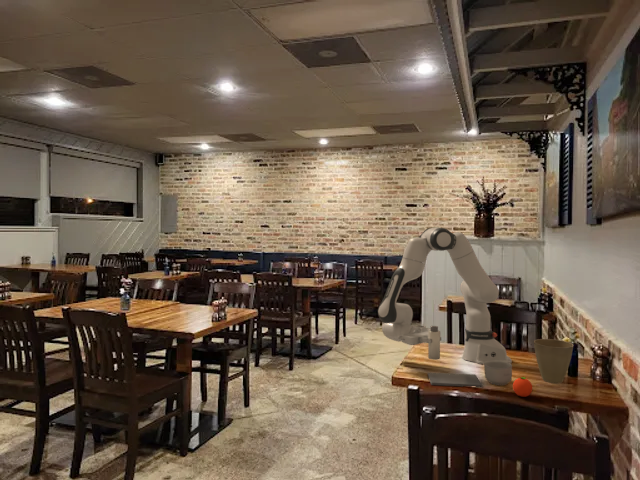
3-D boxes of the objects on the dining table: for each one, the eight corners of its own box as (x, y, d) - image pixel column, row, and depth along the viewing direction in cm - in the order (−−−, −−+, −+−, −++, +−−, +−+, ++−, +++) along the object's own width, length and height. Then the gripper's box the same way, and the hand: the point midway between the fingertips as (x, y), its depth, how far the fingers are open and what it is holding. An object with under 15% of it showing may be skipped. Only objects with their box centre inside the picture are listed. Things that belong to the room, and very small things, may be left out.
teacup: (508, 389, 193) (509, 369, 193) (480, 384, 199) (481, 364, 198) (515, 380, 205) (515, 361, 204) (488, 375, 210) (489, 357, 210)
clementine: (515, 391, 190) (516, 373, 190) (534, 394, 186) (535, 376, 186) (510, 396, 184) (510, 378, 184) (530, 400, 180) (530, 381, 180)
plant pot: (526, 375, 211) (527, 338, 211) (559, 375, 212) (560, 338, 212) (544, 386, 196) (545, 347, 196) (580, 386, 197) (581, 347, 197)
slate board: (475, 376, 208) (475, 374, 208) (482, 387, 195) (482, 384, 194) (427, 374, 211) (427, 372, 211) (431, 385, 197) (431, 382, 197)
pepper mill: (439, 356, 218) (439, 325, 218) (440, 359, 213) (440, 327, 213) (427, 356, 219) (427, 325, 219) (429, 359, 214) (429, 327, 214)
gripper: (396, 331, 219) (420, 336, 209) (425, 325, 232) (449, 329, 221) (396, 345, 220) (420, 351, 209) (425, 338, 232) (449, 343, 222)
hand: (435, 340), depth 215 cm, fingers closed on pepper mill, 5 cm apart
